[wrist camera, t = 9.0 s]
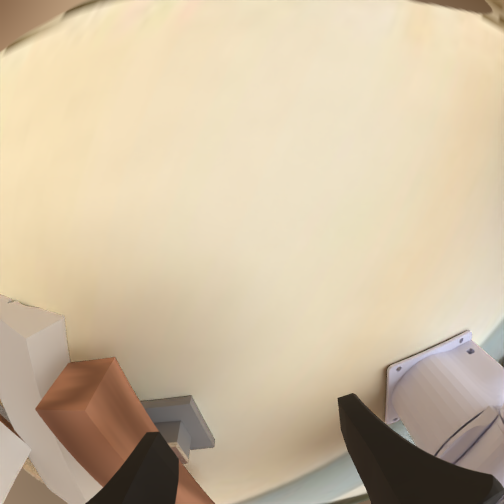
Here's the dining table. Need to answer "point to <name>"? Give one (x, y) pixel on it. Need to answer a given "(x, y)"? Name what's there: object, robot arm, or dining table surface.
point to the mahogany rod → (103, 422)
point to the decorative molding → (38, 393)
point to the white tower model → (10, 454)
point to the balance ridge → (180, 425)
